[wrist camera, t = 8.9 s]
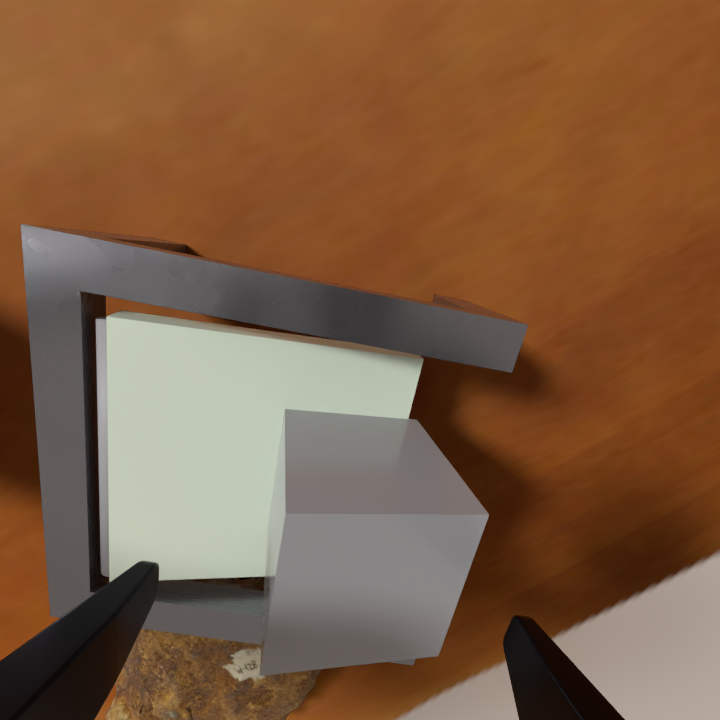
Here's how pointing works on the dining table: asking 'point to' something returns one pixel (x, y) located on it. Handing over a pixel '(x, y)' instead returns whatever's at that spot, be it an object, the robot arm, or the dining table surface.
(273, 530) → the gray cube
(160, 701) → the decorative rock
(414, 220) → the dining table surface
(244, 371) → the trapdoor
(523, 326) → the frame
